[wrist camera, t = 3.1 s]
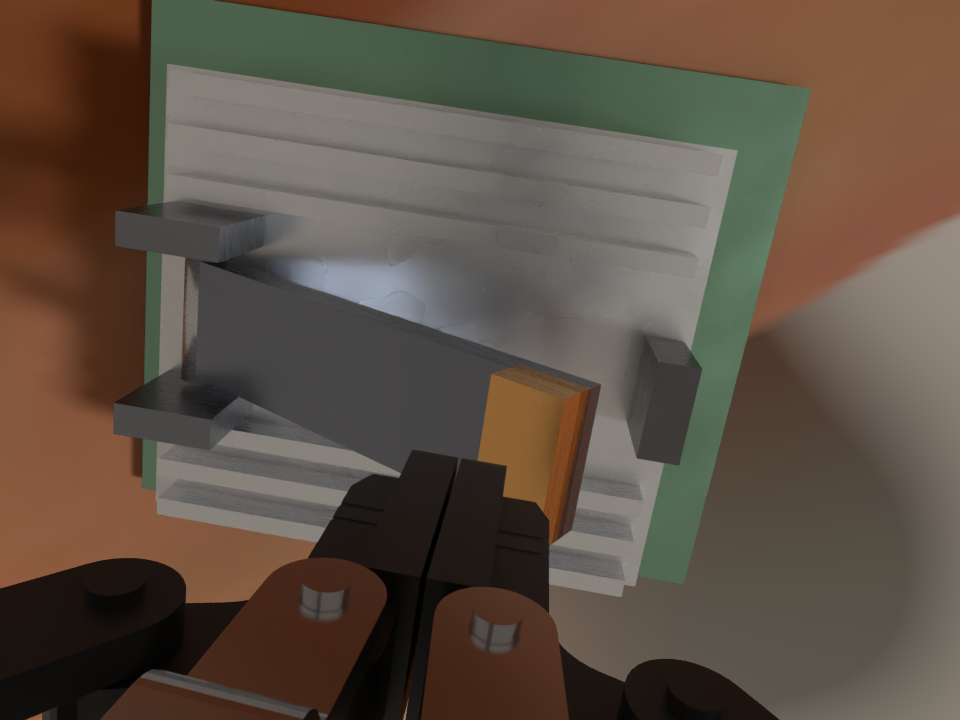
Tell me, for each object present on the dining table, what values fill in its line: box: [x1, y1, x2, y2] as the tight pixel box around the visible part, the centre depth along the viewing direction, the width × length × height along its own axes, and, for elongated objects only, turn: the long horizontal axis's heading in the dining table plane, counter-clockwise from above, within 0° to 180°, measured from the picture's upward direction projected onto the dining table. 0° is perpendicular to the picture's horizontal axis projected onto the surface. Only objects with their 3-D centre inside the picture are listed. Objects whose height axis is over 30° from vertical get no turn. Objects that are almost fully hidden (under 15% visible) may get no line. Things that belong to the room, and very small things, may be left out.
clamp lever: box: [181, 258, 601, 546], centre depth 17 cm, size 12×3×2 cm
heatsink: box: [113, 0, 811, 597], centre depth 21 cm, size 16×19×7 cm
